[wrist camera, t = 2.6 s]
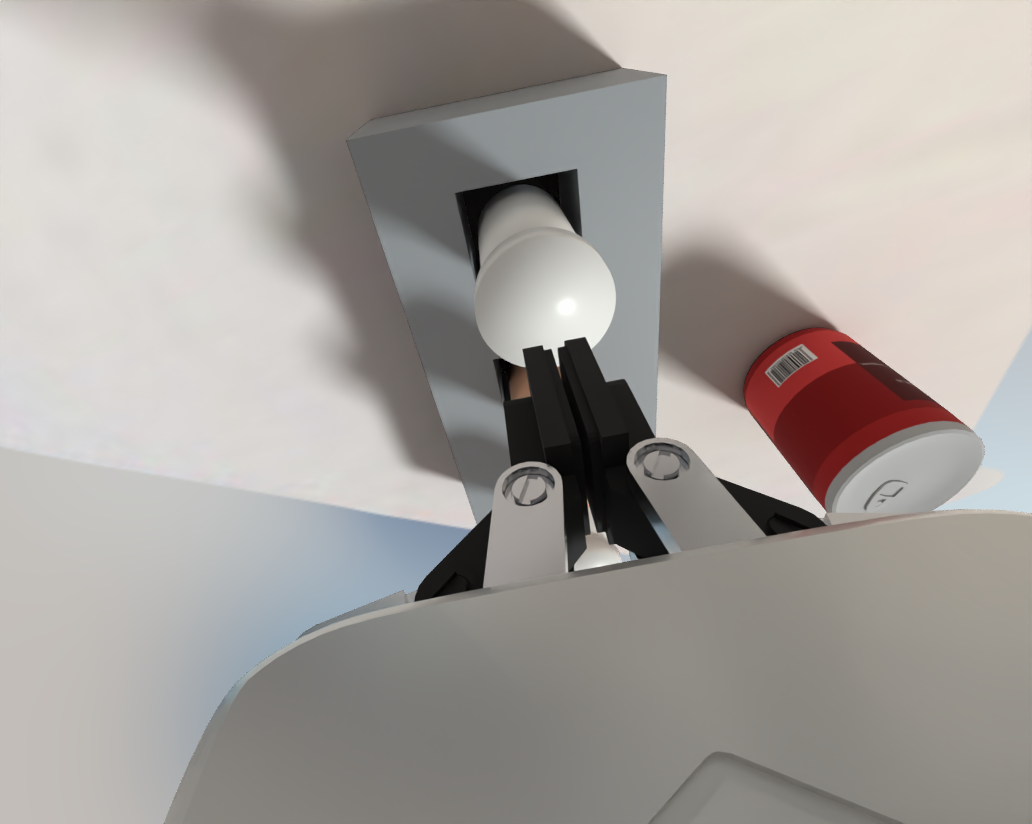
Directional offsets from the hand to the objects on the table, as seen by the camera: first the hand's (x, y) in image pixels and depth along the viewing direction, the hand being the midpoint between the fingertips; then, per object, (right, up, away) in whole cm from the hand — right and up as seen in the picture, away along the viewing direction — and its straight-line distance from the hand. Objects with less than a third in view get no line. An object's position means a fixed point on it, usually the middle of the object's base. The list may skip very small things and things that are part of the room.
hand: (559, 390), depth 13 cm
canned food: (+19, +2, +21) cm, 29 cm away
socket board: (0, +4, +17) cm, 18 cm away
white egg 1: (-1, +8, +9) cm, 12 cm away
